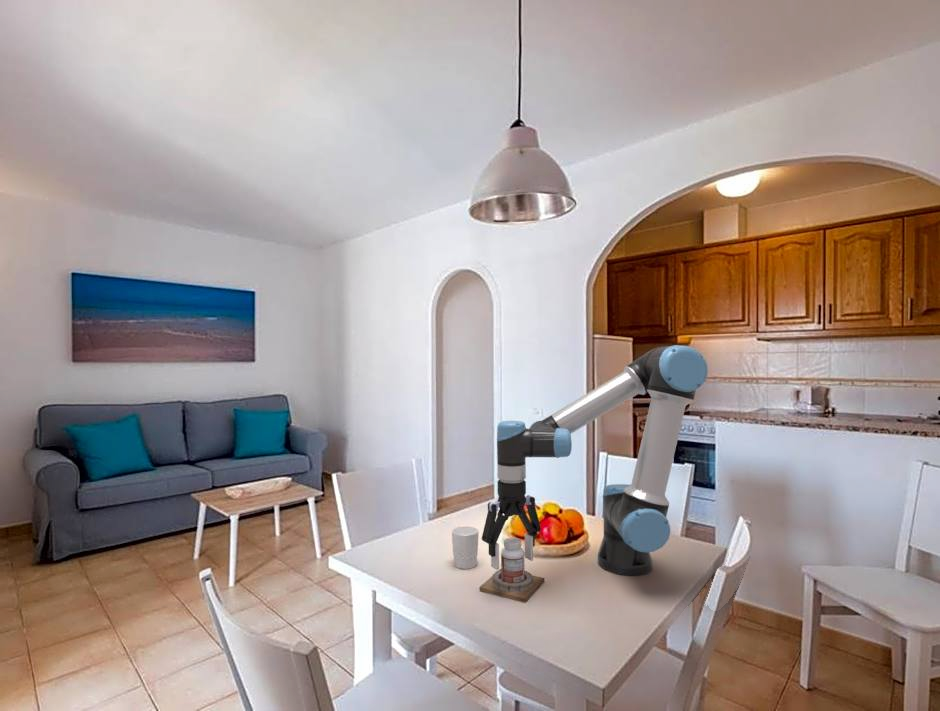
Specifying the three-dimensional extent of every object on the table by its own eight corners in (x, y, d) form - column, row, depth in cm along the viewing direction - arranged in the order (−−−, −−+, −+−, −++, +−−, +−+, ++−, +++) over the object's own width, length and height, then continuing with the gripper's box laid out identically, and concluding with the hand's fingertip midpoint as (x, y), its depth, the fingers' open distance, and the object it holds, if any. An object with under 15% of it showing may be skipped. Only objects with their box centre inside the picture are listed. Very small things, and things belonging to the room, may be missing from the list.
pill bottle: (506, 575, 134) (506, 534, 134) (527, 579, 131) (527, 538, 131) (497, 584, 128) (497, 542, 128) (519, 589, 125) (519, 546, 125)
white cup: (459, 557, 149) (459, 524, 149) (483, 561, 145) (482, 528, 145) (447, 567, 142) (447, 532, 142) (471, 572, 138) (471, 536, 138)
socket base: (544, 581, 132) (544, 572, 132) (525, 602, 121) (525, 592, 121) (501, 571, 138) (501, 562, 138) (479, 590, 127) (479, 581, 127)
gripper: (536, 471, 139) (537, 549, 138) (467, 482, 127) (468, 567, 127) (554, 477, 132) (554, 559, 132) (482, 488, 121) (483, 578, 121)
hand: (512, 563), depth 130 cm, fingers open, 10 cm apart
